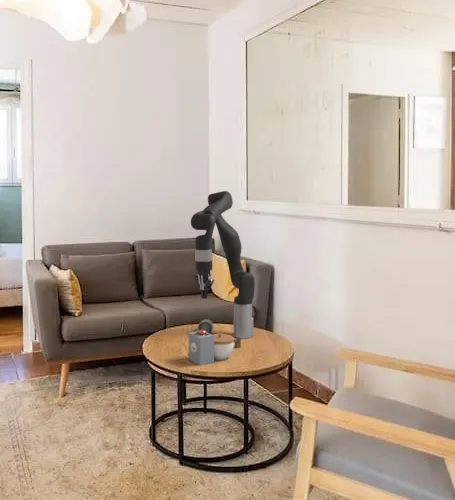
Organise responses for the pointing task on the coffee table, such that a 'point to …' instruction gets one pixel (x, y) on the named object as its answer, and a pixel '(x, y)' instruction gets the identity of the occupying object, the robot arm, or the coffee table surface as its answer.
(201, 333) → the plunger
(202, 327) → the ceramic mug
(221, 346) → the lidded bowl
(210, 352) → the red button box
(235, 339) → the brown curved bar
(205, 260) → the robot arm
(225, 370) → the coffee table surface
